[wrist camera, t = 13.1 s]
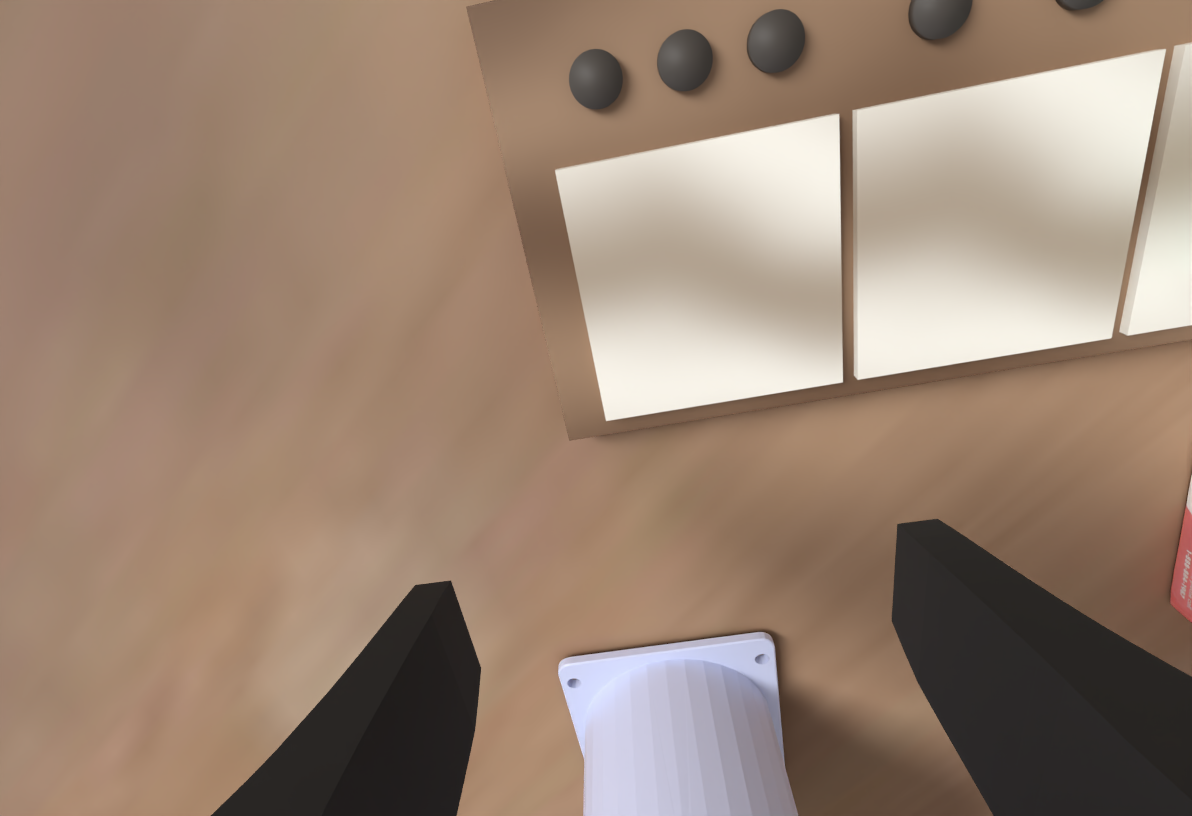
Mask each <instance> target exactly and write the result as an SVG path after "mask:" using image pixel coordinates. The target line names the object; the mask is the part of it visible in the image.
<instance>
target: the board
mask: <svg viewBox="0 0 1192 816" xmlns="http://www.w3.org/2000/svg"><path fill="white" fill-rule="evenodd" d="M466 8H467V12H468V16H469V20H470V25H471V29H472V33H473V37H474V41H475V46H476V50H477V54H478V58H479V63H480V67H481V71H482V75H483V79H484V84H485V88H486V92H487V96H488V100H489V105H490V109H491V113H492V117H493V121H494V126H495V130H496V134H497V138H498V143H499V147H500V151H501V155H502V159H503V164H504V168H505V172H506V176H507V180H508V185H509V189H510V193H511V197H512V201H513V206H514V210H515V214H516V218H517V223H518V227H519V231H520V235H521V239H522V244H523V248H524V252H525V256H526V260H527V265H528V269H529V273H530V277H531V282H532V286H533V290H534V294H535V298H536V303H537V307H538V311H539V315H540V319H541V324H542V328H543V332H544V336H545V340H546V345H547V349H548V353H549V357H550V362H551V366H552V370H553V374H554V378H555V383H556V387H557V391H558V395H559V399H560V404H561V408H562V412H563V416H564V421H565V425H566V429H567V433H568V437H569V441H571V440H577V439H583V438H589V437H595V436H602V435H608V434H614V433H620V432H626V431H632V430H639V429H645V428H651V427H657V426H663V425H669V424H676V423H682V422H688V421H694V420H700V419H706V418H713V417H719V416H725V415H731V414H737V413H743V412H750V411H756V410H762V409H768V408H774V407H780V406H787V405H793V404H799V403H805V402H811V401H817V400H824V399H830V398H836V397H842V396H848V395H854V394H861V393H867V392H873V391H879V390H885V389H891V388H898V387H904V386H910V385H916V384H922V383H928V382H935V381H941V380H947V379H953V378H959V377H965V376H972V375H978V374H984V373H990V372H996V371H1002V370H1009V369H1015V368H1021V367H1027V366H1033V365H1040V364H1046V363H1052V362H1058V361H1064V360H1070V359H1077V358H1083V357H1089V356H1095V355H1101V354H1107V353H1114V352H1120V351H1126V350H1132V349H1138V348H1144V347H1151V346H1157V345H1163V344H1169V343H1175V342H1181V341H1188V340H1192V0H494V1H490V2H485V3H481V4H476V5H472V6H467V7H466Z"/></svg>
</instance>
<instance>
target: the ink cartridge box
mask: <svg viewBox="0 0 1192 816" xmlns="http://www.w3.org/2000/svg"><path fill="white" fill-rule="evenodd" d="M1170 603H1171V605H1172V606H1173V607H1174V608H1175V609H1177V610H1178V611H1179V612H1180V613H1181V614H1182V615H1183V616H1184V617H1185V618H1187V619H1188V620H1189V621H1190V622H1191V623H1192V475H1191V481H1190V486H1189V492H1188V498H1187V504H1186V508H1185V515H1184V519H1183V526H1182V531H1181V537H1180V542H1179V548H1178V552H1177V558H1176V564H1175V569H1174V575H1173V581H1172V586H1171V599H1170Z"/></svg>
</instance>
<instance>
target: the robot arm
mask: <svg viewBox="0 0 1192 816" xmlns="http://www.w3.org/2000/svg"><path fill="white" fill-rule="evenodd" d="M892 622H893V625H894V627H895V630H896V632H897V635H898V637H899V640H900V642H901V644H902V647H903V649H904V652H905V654H906V656H907V659H908V661H909V663H910V666H911V668H912V670H913V672H914V675H915V677H916V679H917V682H918V684H919V685H920V687H921V689H922V691H923V693H924V694H925V696H926V698H927V700H928V702H929V703H930V705H931V707H932V709H933V710H934V712H935V714H936V716H937V718H938V719H939V721H940V723H941V725H942V726H943V728H944V730H945V732H946V733H947V735H948V737H949V739H950V740H951V742H952V744H953V746H954V747H955V749H956V751H957V753H958V754H959V756H960V758H961V760H962V761H963V763H964V765H965V767H966V768H967V770H968V772H969V773H970V775H971V777H972V779H973V780H974V782H975V784H976V786H977V787H978V789H979V791H980V793H981V794H982V796H983V798H984V800H985V801H986V803H987V805H988V807H989V808H990V810H991V812H992V814H993V815H994V816H1192V677H1191V676H1189V675H1188V674H1186V673H1184V672H1182V671H1180V670H1178V669H1176V668H1175V667H1173V666H1171V665H1169V664H1167V663H1166V662H1164V661H1162V660H1160V659H1159V658H1157V657H1155V656H1153V655H1152V654H1150V653H1148V652H1147V651H1145V650H1143V649H1141V648H1140V647H1138V646H1136V645H1134V644H1133V643H1131V642H1129V641H1128V640H1126V639H1124V638H1122V637H1121V636H1119V635H1117V634H1115V633H1114V632H1112V631H1110V630H1109V629H1107V628H1105V627H1104V626H1102V625H1100V624H1099V623H1097V622H1096V621H1094V620H1092V619H1091V618H1089V617H1087V616H1086V615H1084V614H1082V613H1081V612H1079V611H1078V610H1076V609H1074V608H1073V607H1071V606H1070V605H1068V604H1066V603H1065V602H1063V601H1062V600H1060V599H1059V598H1057V597H1055V596H1054V595H1052V594H1051V593H1049V592H1048V591H1046V590H1044V589H1043V588H1041V587H1040V586H1038V585H1037V584H1035V583H1034V582H1032V581H1031V580H1029V579H1028V578H1026V577H1025V576H1023V575H1021V574H1020V573H1018V572H1017V571H1015V570H1014V569H1012V568H1011V567H1009V566H1008V565H1006V564H1005V563H1003V562H1002V561H1000V560H999V559H997V558H996V557H994V556H993V555H991V554H990V553H988V552H987V551H986V550H984V549H983V548H981V547H980V546H978V545H977V544H975V543H974V542H972V541H971V540H969V539H968V538H966V537H965V536H963V535H962V534H960V533H959V532H957V531H956V530H954V529H953V528H951V527H950V526H948V525H946V524H945V523H943V522H942V521H940V520H939V519H933V520H926V521H918V522H910V523H902V524H897V541H896V558H895V575H894V591H893V608H892ZM760 654H764V655H761V656H758V655H760ZM480 674H481V667H480V664H479V661H478V658H477V655H476V652H475V649H474V646H473V644H472V641H471V638H470V635H469V632H468V629H467V626H466V623H465V620H464V617H463V615H462V612H461V609H460V606H459V603H458V600H457V597H456V594H455V591H454V588H453V586H452V583H451V581H444V582H436V583H429V584H421V585H415V586H414V587H413V589H412V590H411V591H410V592H409V593H408V595H407V596H406V597H405V598H404V599H403V601H402V602H401V603H400V604H399V606H398V607H397V608H396V609H395V611H394V612H393V613H392V614H391V616H390V617H389V618H388V619H387V621H386V622H385V623H384V624H383V626H382V627H381V628H380V629H379V631H378V632H377V633H376V634H375V636H374V637H373V638H372V639H371V641H370V642H369V643H368V644H367V646H366V647H365V648H364V649H363V651H362V652H361V653H360V654H359V656H358V657H357V658H356V659H355V660H354V662H353V663H352V664H351V665H350V666H349V668H348V669H347V670H346V671H345V672H344V674H343V675H342V676H341V677H340V679H339V680H338V681H337V682H336V683H335V685H334V686H333V687H332V688H331V689H330V691H329V692H328V693H327V694H326V695H325V696H324V697H323V699H322V700H321V701H320V702H319V703H318V704H317V705H316V706H315V708H314V709H313V710H312V711H311V712H310V713H309V714H308V715H307V716H306V718H305V719H304V720H303V721H302V722H301V723H300V724H299V725H298V727H297V728H296V729H295V730H294V731H293V732H292V733H291V734H290V735H289V737H288V738H287V739H286V740H285V741H284V742H283V743H282V744H281V746H280V747H279V748H278V749H277V750H276V751H275V752H274V753H273V754H272V755H271V756H270V757H269V758H268V759H267V760H266V762H265V763H264V764H263V765H262V766H261V767H260V768H259V769H258V770H257V771H256V772H255V773H254V774H253V775H252V776H251V777H250V778H249V779H248V780H247V781H246V782H245V783H244V784H243V785H242V786H241V787H240V788H239V789H238V790H237V791H236V792H235V793H234V794H233V795H232V796H231V797H230V798H229V799H228V800H227V801H226V802H224V803H223V804H222V805H221V806H220V807H219V808H218V809H217V810H216V811H215V812H214V813H213V814H212V815H211V816H456V815H457V811H458V806H459V802H460V797H461V793H462V788H463V784H464V779H465V775H466V770H467V765H468V761H469V756H470V751H471V747H472V742H473V737H474V732H475V725H476V716H477V707H478V697H479V685H480ZM558 675H559V678H560V681H561V685H562V688H563V691H564V695H565V698H566V701H567V704H568V708H569V711H570V714H571V718H572V721H573V724H574V727H575V731H576V734H577V737H578V741H579V744H580V747H581V750H582V754H583V757H584V760H585V761H584V812H583V816H798V812H797V809H796V805H795V801H794V798H793V794H792V790H791V787H790V783H789V780H788V776H787V772H786V769H785V762H784V750H783V738H782V726H781V714H780V702H779V690H778V678H777V667H776V655H775V646H774V642H773V639H772V637H771V636H770V635H769V634H767V633H764V632H755V633H747V634H739V635H732V636H724V637H717V638H709V639H702V640H694V641H687V642H679V643H671V644H664V645H656V646H649V647H641V648H634V649H626V650H619V651H611V652H604V653H596V654H588V655H581V656H573V657H568V658H564V659H563V660H562V661H561V662H560V663H559V670H558ZM573 678H574V679H573Z"/></svg>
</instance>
